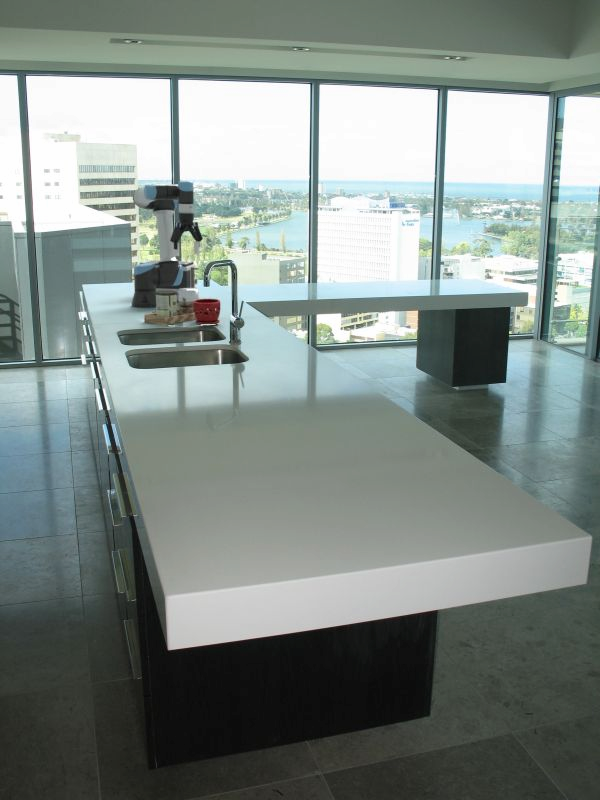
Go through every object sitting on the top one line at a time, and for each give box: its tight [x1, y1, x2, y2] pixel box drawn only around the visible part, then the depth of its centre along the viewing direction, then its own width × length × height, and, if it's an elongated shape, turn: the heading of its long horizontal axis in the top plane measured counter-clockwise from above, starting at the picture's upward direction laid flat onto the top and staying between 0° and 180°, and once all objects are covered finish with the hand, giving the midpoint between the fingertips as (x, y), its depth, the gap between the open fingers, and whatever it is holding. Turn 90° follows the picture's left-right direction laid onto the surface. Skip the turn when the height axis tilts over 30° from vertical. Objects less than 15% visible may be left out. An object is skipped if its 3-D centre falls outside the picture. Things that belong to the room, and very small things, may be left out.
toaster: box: [139, 259, 200, 299], centre depth 494 cm, size 18×34×21 cm, turn 81°
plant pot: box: [193, 298, 221, 325], centre depth 405 cm, size 13×13×12 cm
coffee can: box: [155, 291, 178, 317], centre depth 410 cm, size 10×10×14 cm
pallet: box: [143, 308, 197, 327], centre depth 417 cm, size 30×16×4 cm, turn 142°
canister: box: [177, 287, 199, 314], centre depth 421 cm, size 10×10×14 cm
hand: (187, 255), depth 426 cm, fingers open, 13 cm apart
